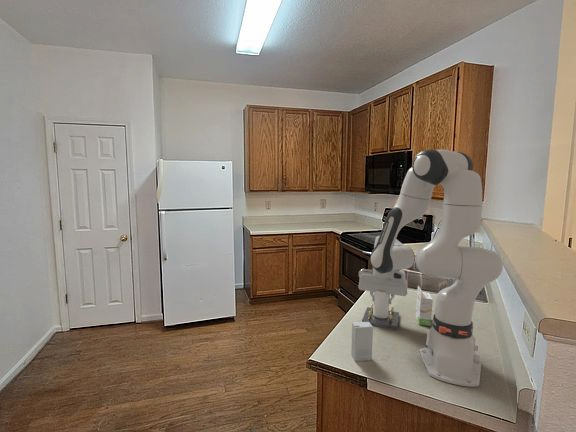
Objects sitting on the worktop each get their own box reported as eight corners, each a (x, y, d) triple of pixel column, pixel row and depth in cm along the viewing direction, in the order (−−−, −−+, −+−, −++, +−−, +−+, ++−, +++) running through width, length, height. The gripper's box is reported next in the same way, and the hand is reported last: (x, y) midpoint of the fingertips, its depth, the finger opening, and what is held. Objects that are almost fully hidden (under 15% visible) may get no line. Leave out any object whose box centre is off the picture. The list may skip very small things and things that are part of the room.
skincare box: (367, 354, 112) (369, 320, 110) (372, 361, 107) (374, 326, 106) (350, 354, 111) (351, 321, 110) (354, 362, 107) (355, 327, 105)
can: (390, 319, 137) (392, 292, 135) (375, 318, 137) (376, 291, 135) (386, 312, 143) (387, 286, 142) (371, 312, 143) (372, 286, 142)
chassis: (396, 329, 131) (397, 319, 130) (361, 323, 136) (362, 313, 135) (398, 315, 144) (399, 305, 144) (367, 310, 150) (367, 300, 149)
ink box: (431, 326, 134) (434, 292, 132) (418, 325, 135) (421, 291, 133) (426, 317, 143) (429, 285, 141) (415, 316, 144) (417, 284, 142)
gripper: (357, 270, 138) (356, 301, 140) (408, 276, 131) (406, 308, 133) (360, 266, 144) (358, 296, 146) (408, 272, 137) (406, 303, 138)
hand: (381, 302), depth 139 cm, fingers closed on can, 5 cm apart
